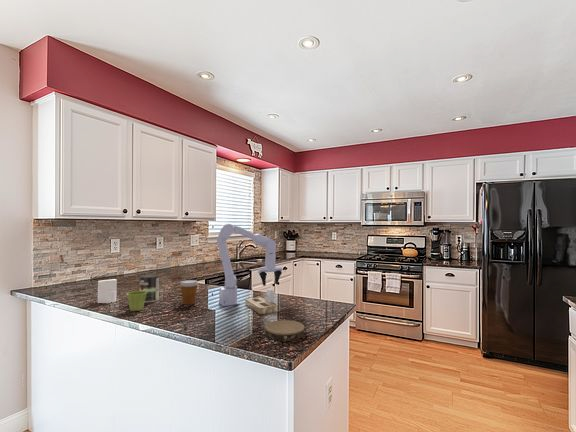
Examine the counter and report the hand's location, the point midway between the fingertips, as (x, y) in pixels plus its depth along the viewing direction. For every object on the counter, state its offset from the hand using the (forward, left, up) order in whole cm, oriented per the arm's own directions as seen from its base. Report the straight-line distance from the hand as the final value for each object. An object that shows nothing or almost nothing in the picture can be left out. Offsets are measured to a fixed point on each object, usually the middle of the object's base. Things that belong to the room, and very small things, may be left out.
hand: (270, 284), depth 169 cm
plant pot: (-67, +18, -10) cm, 70 cm away
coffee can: (-60, +36, -10) cm, 71 cm away
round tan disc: (-16, -47, -10) cm, 51 cm away
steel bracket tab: (0, 0, -10) cm, 10 cm away
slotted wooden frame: (-10, -9, -10) cm, 17 cm away
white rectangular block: (-81, +44, -10) cm, 93 cm away
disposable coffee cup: (-41, +19, -10) cm, 46 cm away
